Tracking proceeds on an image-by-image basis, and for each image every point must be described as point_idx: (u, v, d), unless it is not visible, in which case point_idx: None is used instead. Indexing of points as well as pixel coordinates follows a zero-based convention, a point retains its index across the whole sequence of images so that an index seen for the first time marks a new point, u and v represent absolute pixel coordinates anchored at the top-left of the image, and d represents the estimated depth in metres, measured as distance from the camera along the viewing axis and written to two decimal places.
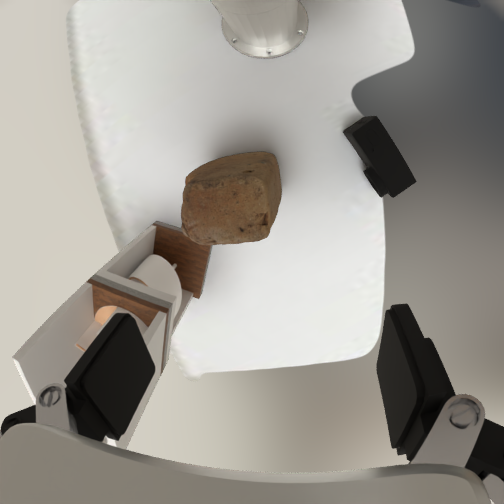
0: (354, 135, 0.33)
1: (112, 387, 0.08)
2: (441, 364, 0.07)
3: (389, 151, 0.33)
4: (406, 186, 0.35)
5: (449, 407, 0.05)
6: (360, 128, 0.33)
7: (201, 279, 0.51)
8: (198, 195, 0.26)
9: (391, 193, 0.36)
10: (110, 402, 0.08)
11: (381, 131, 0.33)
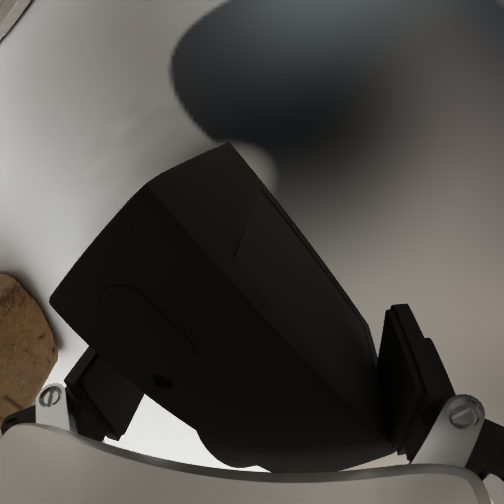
0: (60, 312, 0.06)
1: (112, 387, 0.08)
2: (441, 364, 0.07)
3: (270, 392, 0.06)
4: (349, 465, 0.08)
5: (449, 407, 0.05)
6: (70, 279, 0.05)
7: None
8: None
9: None
10: (110, 402, 0.08)
11: (197, 296, 0.05)
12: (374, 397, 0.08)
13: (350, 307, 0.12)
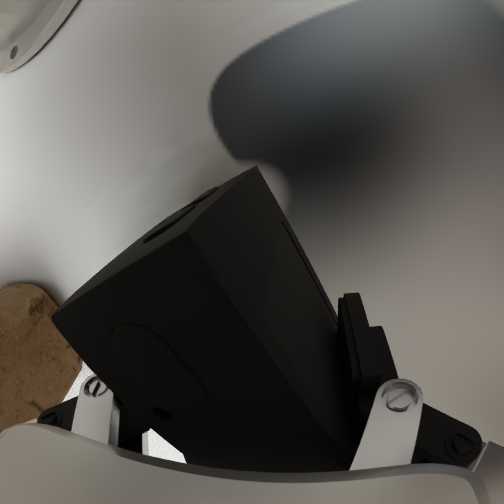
0: (62, 331, 0.05)
1: None
2: (388, 350, 0.08)
3: (272, 438, 0.06)
4: None
5: (386, 390, 0.06)
6: (79, 304, 0.05)
7: None
8: None
9: None
10: None
11: (221, 351, 0.05)
12: None
13: None
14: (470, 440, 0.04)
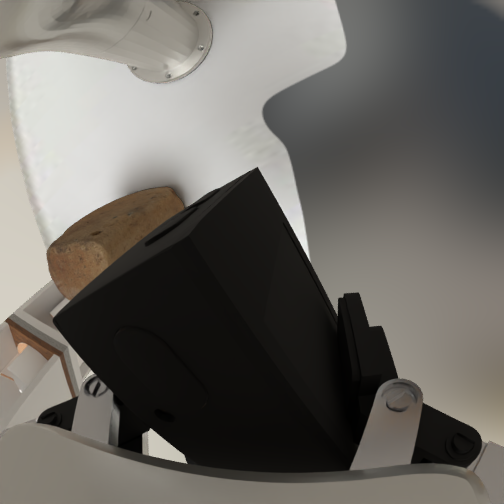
0: (64, 334, 0.05)
1: None
2: (388, 350, 0.08)
3: (272, 439, 0.06)
4: None
5: (386, 390, 0.06)
6: (81, 307, 0.05)
7: None
8: (56, 258, 0.23)
9: None
10: None
11: (223, 354, 0.05)
12: None
13: None
14: (470, 440, 0.04)
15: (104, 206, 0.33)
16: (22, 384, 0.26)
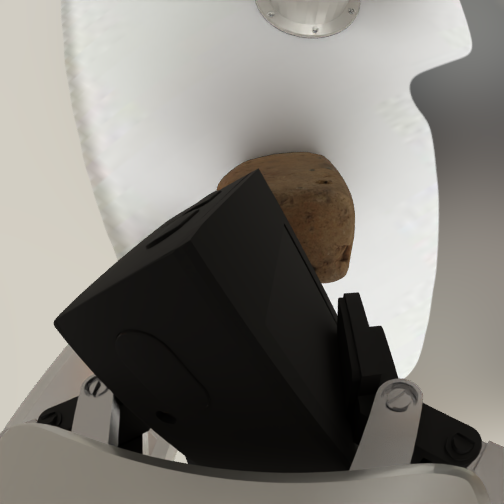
0: (65, 336, 0.05)
1: None
2: (388, 350, 0.08)
3: (273, 441, 0.06)
4: None
5: (386, 390, 0.06)
6: (83, 310, 0.05)
7: None
8: None
9: None
10: None
11: (225, 358, 0.05)
12: None
13: None
14: (470, 440, 0.04)
15: (248, 164, 0.27)
16: None
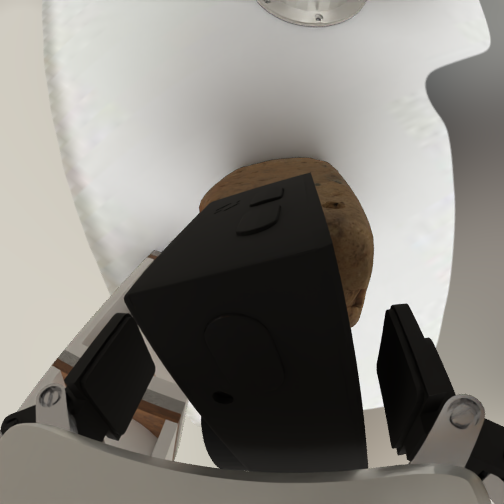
0: (135, 312, 0.06)
1: (112, 387, 0.08)
2: (441, 364, 0.07)
3: (318, 421, 0.06)
4: None
5: (449, 407, 0.05)
6: (178, 289, 0.05)
7: None
8: None
9: None
10: (110, 402, 0.08)
11: (318, 344, 0.05)
12: None
13: None
14: None
15: (239, 173, 0.23)
16: None
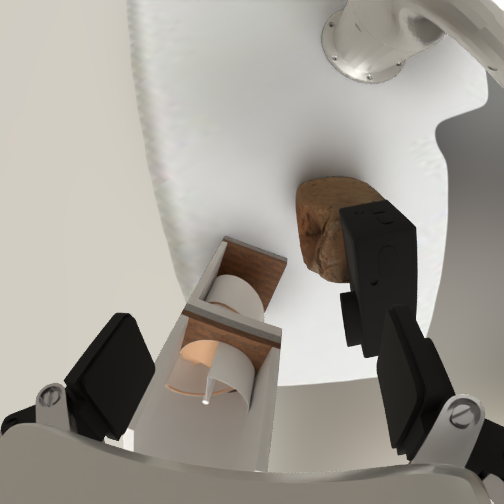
0: (357, 246, 0.17)
1: (112, 387, 0.08)
2: (441, 364, 0.07)
3: (402, 294, 0.18)
4: None
5: (449, 407, 0.05)
6: (375, 237, 0.17)
7: (269, 299, 0.49)
8: None
9: (366, 352, 0.21)
10: (110, 402, 0.08)
11: (408, 257, 0.17)
12: None
13: None
14: None
15: (316, 187, 0.35)
16: (207, 393, 0.28)
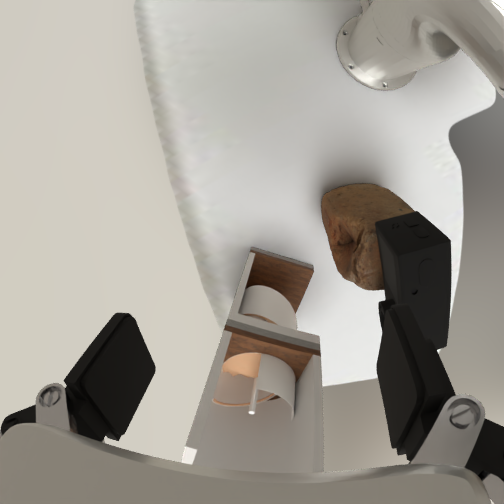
0: (401, 260, 0.18)
1: (112, 387, 0.08)
2: (441, 364, 0.07)
3: (438, 300, 0.19)
4: None
5: (449, 407, 0.05)
6: (416, 252, 0.18)
7: (297, 306, 0.50)
8: None
9: None
10: (110, 402, 0.08)
11: (444, 267, 0.18)
12: None
13: None
14: None
15: (343, 197, 0.35)
16: (253, 403, 0.28)
